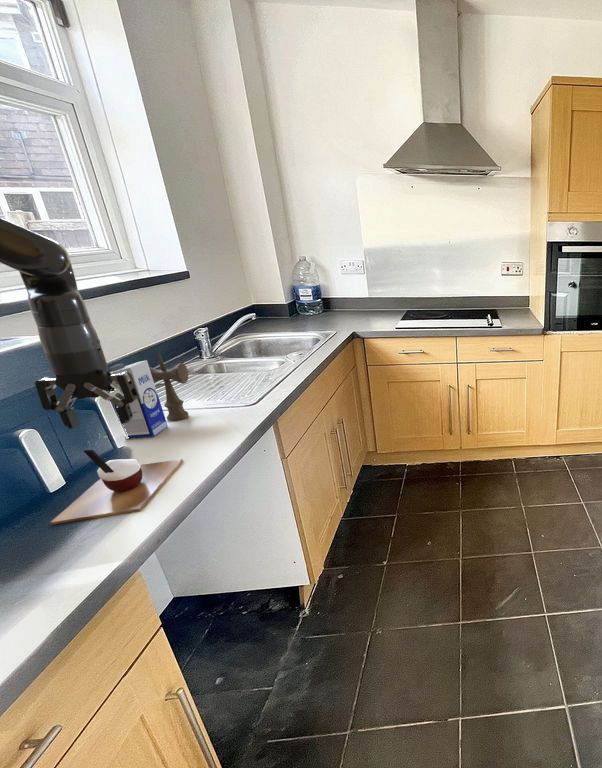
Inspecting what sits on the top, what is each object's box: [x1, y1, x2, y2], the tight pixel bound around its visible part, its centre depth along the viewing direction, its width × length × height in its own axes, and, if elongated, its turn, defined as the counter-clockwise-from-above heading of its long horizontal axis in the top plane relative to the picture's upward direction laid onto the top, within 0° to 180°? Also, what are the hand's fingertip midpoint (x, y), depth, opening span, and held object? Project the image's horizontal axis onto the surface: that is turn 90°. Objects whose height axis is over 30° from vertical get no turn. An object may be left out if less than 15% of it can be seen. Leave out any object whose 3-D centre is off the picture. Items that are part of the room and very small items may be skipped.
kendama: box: [149, 353, 189, 421], centre depth 120 cm, size 6×10×20 cm, turn 107°
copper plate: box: [50, 459, 184, 526], centre depth 89 cm, size 14×20×1 cm
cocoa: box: [83, 449, 142, 492], centre depth 86 cm, size 10×6×12 cm, turn 165°
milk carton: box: [107, 359, 169, 440], centre depth 111 cm, size 7×7×20 cm
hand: (101, 424), depth 84 cm, fingers open, 8 cm apart
